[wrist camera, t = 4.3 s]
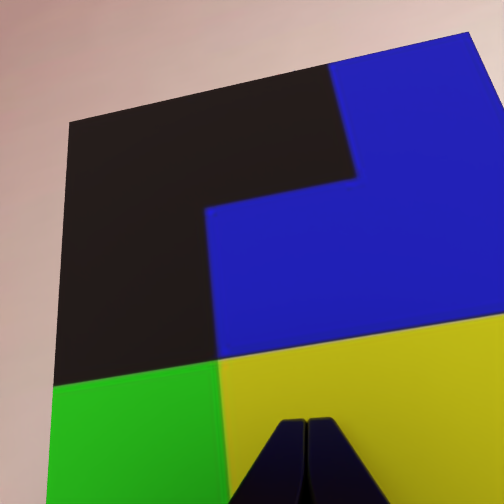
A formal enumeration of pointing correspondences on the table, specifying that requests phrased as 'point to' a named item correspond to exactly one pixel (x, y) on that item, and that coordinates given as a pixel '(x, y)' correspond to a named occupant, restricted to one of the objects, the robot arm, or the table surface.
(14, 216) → the table surface
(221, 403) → the puzzle toy
